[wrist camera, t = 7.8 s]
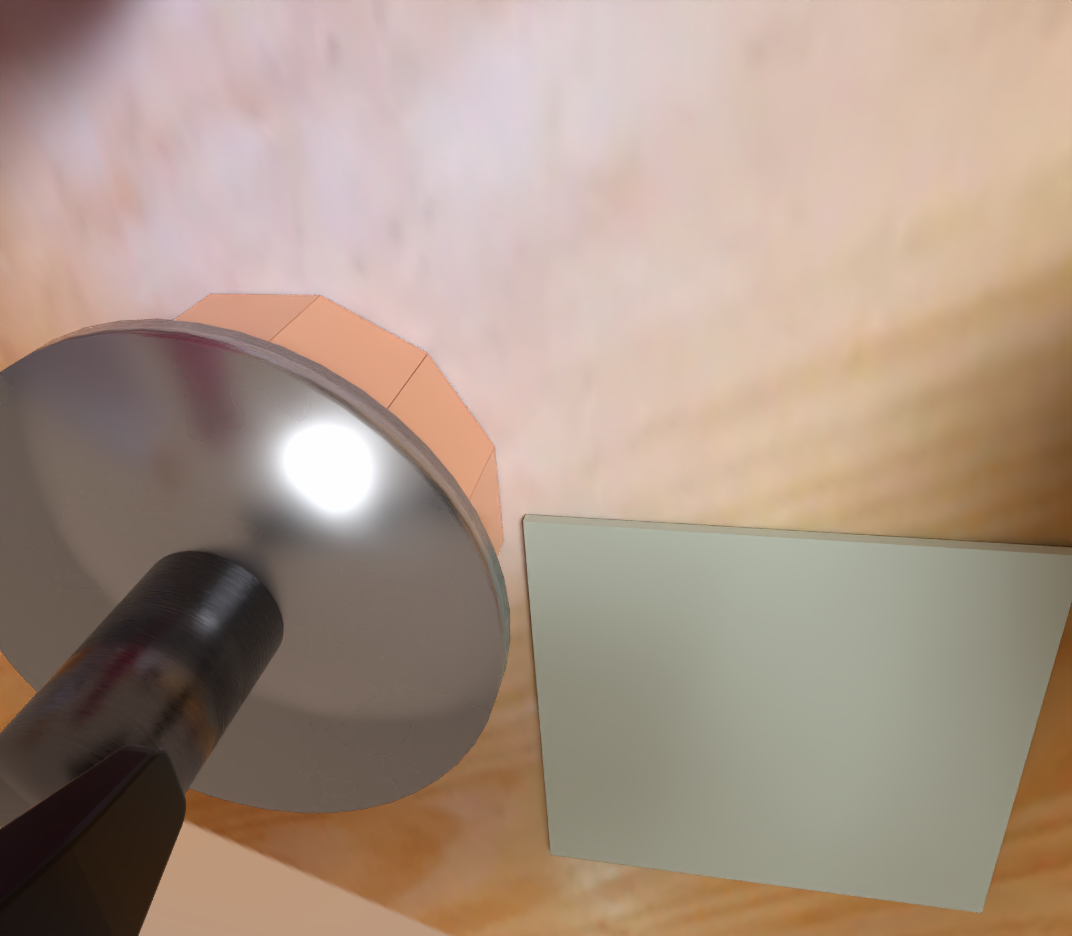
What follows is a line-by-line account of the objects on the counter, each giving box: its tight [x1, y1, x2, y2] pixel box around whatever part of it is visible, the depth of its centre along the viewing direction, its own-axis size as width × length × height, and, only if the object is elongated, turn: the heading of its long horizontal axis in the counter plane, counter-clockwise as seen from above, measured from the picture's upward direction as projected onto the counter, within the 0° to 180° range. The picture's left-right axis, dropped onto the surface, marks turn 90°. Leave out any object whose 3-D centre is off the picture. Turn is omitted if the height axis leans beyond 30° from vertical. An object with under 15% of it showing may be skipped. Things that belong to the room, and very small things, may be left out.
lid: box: [0, 319, 510, 828], centre depth 17 cm, size 12×12×6 cm
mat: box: [523, 515, 1072, 913], centre depth 24 cm, size 12×12×1 cm
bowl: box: [174, 294, 504, 557], centre depth 21 cm, size 10×10×4 cm
